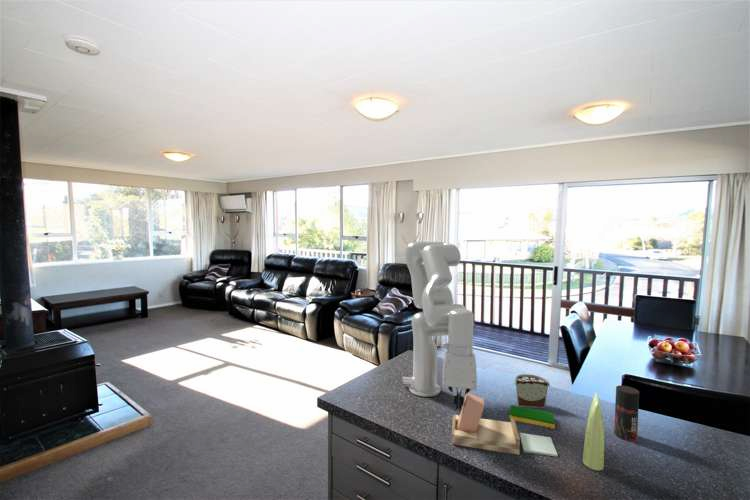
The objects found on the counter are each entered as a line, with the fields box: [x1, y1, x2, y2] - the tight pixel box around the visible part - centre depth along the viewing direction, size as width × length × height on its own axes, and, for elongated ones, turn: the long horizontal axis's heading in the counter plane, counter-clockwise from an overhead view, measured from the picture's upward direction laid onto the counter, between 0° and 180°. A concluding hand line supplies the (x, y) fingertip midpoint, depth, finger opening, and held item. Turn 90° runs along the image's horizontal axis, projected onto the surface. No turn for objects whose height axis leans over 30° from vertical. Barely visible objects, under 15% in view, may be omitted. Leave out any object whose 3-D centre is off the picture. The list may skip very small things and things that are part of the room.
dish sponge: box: [509, 404, 556, 429], centre depth 121 cm, size 7×14×2 cm, turn 66°
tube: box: [582, 391, 605, 471], centre depth 96 cm, size 6×5×20 cm
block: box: [458, 392, 485, 433], centre depth 110 cm, size 5×5×10 cm
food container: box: [513, 373, 550, 409], centre depth 132 cm, size 12×6×10 cm, turn 84°
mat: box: [518, 432, 559, 458], centre depth 106 cm, size 9×9×1 cm
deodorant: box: [613, 385, 640, 442], centre depth 111 cm, size 6×6×15 cm
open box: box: [451, 414, 521, 456], centre depth 109 cm, size 19×12×4 cm, turn 76°
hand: (458, 406), depth 111 cm, fingers closed
